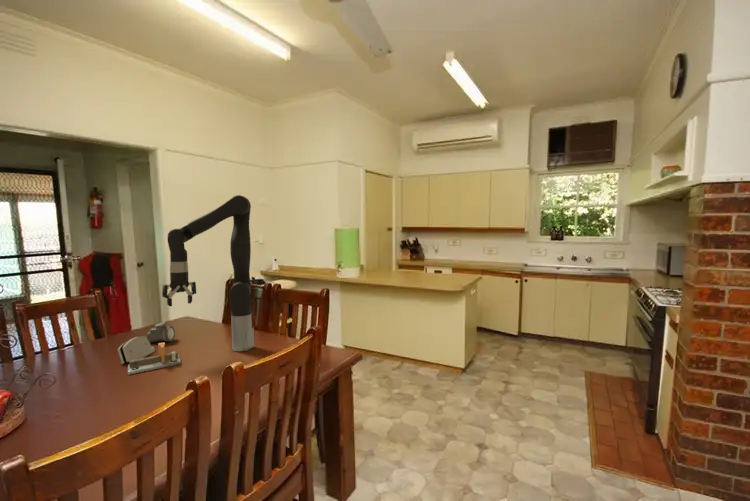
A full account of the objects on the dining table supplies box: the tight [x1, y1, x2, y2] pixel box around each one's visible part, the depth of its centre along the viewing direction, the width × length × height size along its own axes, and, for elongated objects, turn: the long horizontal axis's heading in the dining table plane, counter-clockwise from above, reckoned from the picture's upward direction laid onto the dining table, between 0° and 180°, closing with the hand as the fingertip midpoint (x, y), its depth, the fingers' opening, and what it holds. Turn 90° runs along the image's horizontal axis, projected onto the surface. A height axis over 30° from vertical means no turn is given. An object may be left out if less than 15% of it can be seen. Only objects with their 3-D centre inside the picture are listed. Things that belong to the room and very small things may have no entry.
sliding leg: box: [157, 341, 167, 363], centre depth 152 cm, size 2×7×7 cm, turn 35°
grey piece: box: [127, 351, 182, 376], centre depth 150 cm, size 19×9×5 cm, turn 125°
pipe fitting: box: [146, 321, 176, 343], centre depth 182 cm, size 12×8×10 cm
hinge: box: [117, 335, 156, 365], centre depth 161 cm, size 17×5×10 cm, turn 1°
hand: (180, 304), depth 164 cm, fingers open, 8 cm apart
